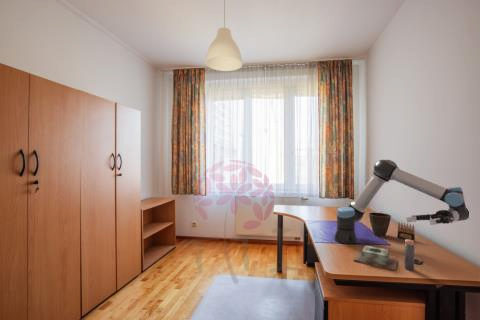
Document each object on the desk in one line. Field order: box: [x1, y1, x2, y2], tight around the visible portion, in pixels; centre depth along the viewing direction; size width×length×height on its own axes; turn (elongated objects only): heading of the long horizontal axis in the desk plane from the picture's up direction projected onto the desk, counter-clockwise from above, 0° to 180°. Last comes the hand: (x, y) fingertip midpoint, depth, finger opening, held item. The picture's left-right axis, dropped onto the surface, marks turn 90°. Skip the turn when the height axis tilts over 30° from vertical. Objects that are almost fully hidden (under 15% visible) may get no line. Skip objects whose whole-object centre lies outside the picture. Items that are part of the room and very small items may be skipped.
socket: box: [352, 245, 398, 271], centre depth 138 cm, size 20×16×6 cm
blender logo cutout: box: [414, 258, 424, 265], centre depth 139 cm, size 9×8×1 cm
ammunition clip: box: [397, 221, 416, 242], centre depth 179 cm, size 11×2×12 cm, turn 41°
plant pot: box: [368, 212, 392, 237], centre depth 189 cm, size 15×15×16 cm
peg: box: [404, 239, 415, 272], centre depth 128 cm, size 4×4×15 cm
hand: (418, 221), depth 135 cm, fingers open, 13 cm apart
